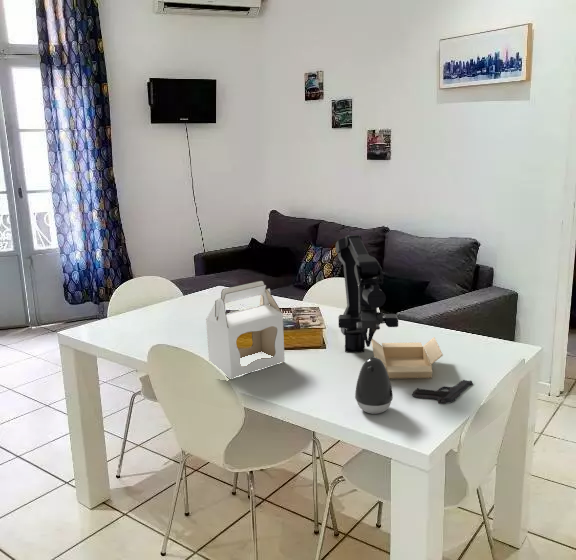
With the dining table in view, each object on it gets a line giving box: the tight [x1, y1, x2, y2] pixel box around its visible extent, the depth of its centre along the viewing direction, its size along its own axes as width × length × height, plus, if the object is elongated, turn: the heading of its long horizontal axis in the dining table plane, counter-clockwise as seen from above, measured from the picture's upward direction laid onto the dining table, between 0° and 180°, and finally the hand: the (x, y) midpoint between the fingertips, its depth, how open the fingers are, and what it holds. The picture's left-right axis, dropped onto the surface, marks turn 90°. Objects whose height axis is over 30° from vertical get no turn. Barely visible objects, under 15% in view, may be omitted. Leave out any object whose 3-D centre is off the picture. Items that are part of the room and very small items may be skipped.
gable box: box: [205, 280, 286, 380], centre depth 203 cm, size 22×13×28 cm, turn 129°
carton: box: [381, 342, 433, 380], centre depth 199 cm, size 14×26×4 cm, turn 176°
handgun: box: [411, 379, 474, 405], centre depth 181 cm, size 18×2×12 cm
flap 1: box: [371, 338, 386, 365], centre depth 198 cm, size 1×17×4 cm
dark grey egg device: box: [354, 356, 394, 415], centre depth 168 cm, size 10×10×15 cm
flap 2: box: [423, 337, 444, 365], centre depth 197 cm, size 1×17×4 cm
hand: (368, 346), depth 198 cm, fingers closed
